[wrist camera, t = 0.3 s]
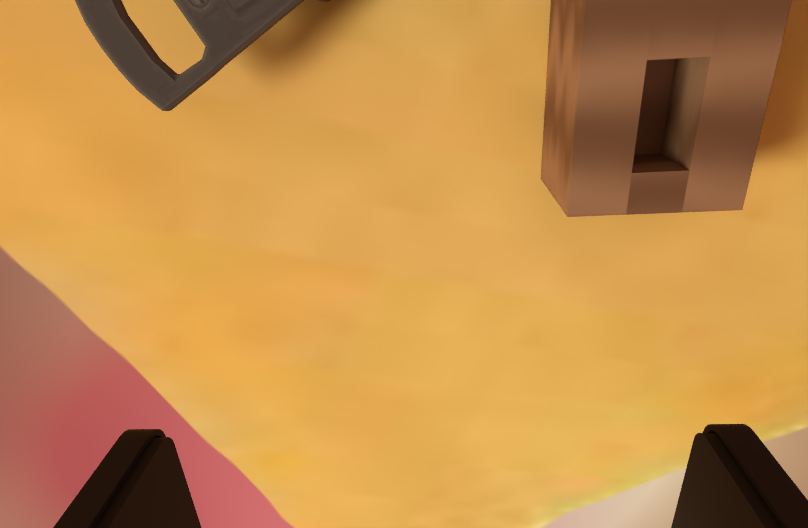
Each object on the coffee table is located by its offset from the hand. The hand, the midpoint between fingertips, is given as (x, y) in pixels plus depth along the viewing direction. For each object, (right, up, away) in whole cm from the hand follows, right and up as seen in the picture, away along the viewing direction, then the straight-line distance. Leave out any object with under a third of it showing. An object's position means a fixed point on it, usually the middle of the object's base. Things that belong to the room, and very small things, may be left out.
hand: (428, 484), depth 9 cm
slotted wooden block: (+14, +20, +23) cm, 34 cm away
